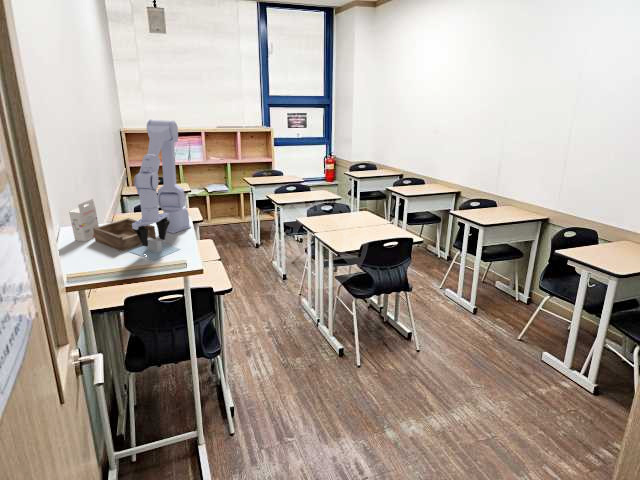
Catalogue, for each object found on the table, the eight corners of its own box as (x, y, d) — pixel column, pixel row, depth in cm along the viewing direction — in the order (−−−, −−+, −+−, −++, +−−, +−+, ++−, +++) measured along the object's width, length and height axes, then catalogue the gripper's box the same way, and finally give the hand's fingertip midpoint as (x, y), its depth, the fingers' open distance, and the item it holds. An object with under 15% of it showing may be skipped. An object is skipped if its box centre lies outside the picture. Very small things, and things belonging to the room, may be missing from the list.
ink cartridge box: (89, 232, 173) (83, 197, 167) (100, 234, 172) (94, 198, 166) (74, 240, 165) (66, 203, 160) (85, 242, 164) (78, 204, 159)
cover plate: (155, 242, 167) (153, 231, 165) (180, 251, 161) (179, 238, 159) (128, 253, 157) (126, 240, 156) (154, 262, 151) (152, 249, 149)
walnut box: (130, 230, 177) (128, 218, 175) (155, 238, 169) (154, 226, 167) (95, 241, 165) (93, 228, 163) (121, 251, 157) (119, 237, 155)
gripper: (158, 199, 160) (162, 234, 165) (124, 209, 148) (129, 246, 154) (171, 203, 157) (175, 238, 162) (137, 213, 145) (142, 250, 150)
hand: (153, 242), depth 158 cm, fingers open, 7 cm apart
